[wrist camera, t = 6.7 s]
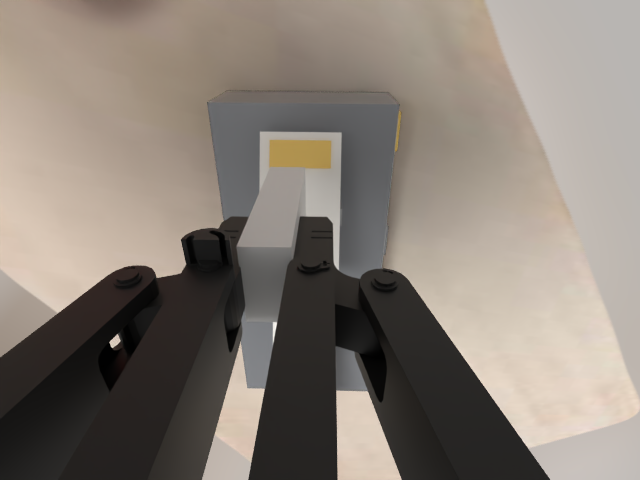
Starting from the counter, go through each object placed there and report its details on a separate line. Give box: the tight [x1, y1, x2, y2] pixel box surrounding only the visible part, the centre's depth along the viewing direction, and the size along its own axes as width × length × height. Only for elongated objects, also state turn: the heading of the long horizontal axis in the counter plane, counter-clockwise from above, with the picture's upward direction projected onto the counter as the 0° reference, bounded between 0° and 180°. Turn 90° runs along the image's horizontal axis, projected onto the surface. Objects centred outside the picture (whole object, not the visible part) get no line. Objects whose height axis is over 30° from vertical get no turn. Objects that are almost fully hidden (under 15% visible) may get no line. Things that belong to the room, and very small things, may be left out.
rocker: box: [259, 132, 342, 270], centre depth 22 cm, size 11×5×2 cm, turn 0°
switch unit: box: [207, 91, 401, 391], centre depth 30 cm, size 27×12×8 cm, turn 0°
